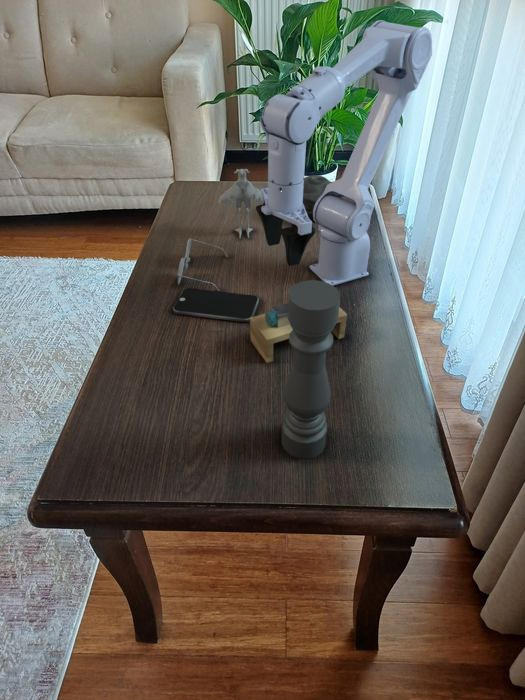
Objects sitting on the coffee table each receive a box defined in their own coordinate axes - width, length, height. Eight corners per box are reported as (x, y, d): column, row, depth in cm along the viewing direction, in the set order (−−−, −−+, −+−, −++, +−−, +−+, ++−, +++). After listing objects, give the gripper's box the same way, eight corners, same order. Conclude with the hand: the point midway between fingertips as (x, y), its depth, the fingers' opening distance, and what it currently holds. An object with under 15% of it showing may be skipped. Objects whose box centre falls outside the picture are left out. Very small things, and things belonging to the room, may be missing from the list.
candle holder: (279, 425, 76) (282, 280, 59) (321, 422, 76) (336, 277, 59) (284, 460, 71) (289, 313, 54) (329, 457, 71) (348, 310, 55)
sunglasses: (189, 254, 112) (190, 233, 109) (227, 261, 112) (230, 240, 109) (175, 291, 101) (177, 269, 98) (218, 298, 102) (221, 277, 98)
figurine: (268, 229, 120) (268, 164, 110) (269, 237, 117) (269, 172, 107) (219, 230, 120) (215, 166, 110) (219, 239, 117) (214, 173, 107)
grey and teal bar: (321, 304, 89) (322, 292, 88) (328, 312, 88) (329, 300, 86) (264, 321, 86) (264, 309, 84) (271, 329, 84) (271, 318, 83)
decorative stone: (331, 207, 128) (335, 167, 121) (336, 227, 120) (340, 185, 114) (290, 208, 128) (292, 168, 121) (293, 227, 120) (294, 186, 114)
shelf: (325, 317, 95) (327, 294, 92) (344, 337, 90) (347, 314, 87) (250, 340, 90) (249, 317, 87) (266, 363, 86) (266, 339, 82)
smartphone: (184, 287, 101) (259, 295, 99) (184, 290, 101) (260, 298, 99) (170, 310, 95) (250, 320, 93) (171, 313, 96) (250, 323, 93)
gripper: (244, 166, 86) (245, 240, 95) (284, 200, 77) (282, 279, 85) (282, 160, 89) (279, 232, 98) (326, 192, 79) (319, 269, 88)
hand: (283, 253), depth 92 cm, fingers open, 7 cm apart
